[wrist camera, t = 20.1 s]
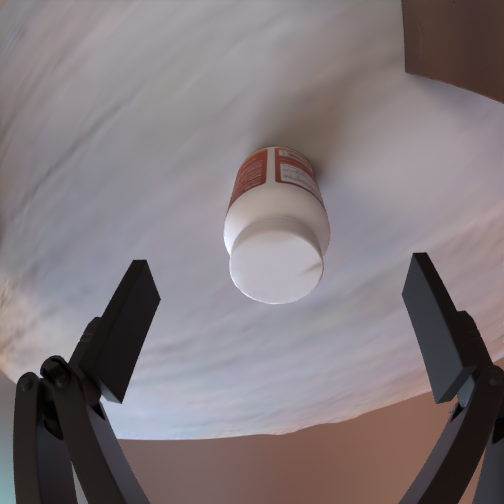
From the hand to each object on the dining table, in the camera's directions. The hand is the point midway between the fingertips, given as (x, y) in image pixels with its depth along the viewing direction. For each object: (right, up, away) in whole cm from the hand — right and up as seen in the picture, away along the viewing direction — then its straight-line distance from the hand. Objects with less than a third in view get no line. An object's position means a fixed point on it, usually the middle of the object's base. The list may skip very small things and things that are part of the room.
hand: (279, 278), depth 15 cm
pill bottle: (+1, +7, +9) cm, 12 cm away
